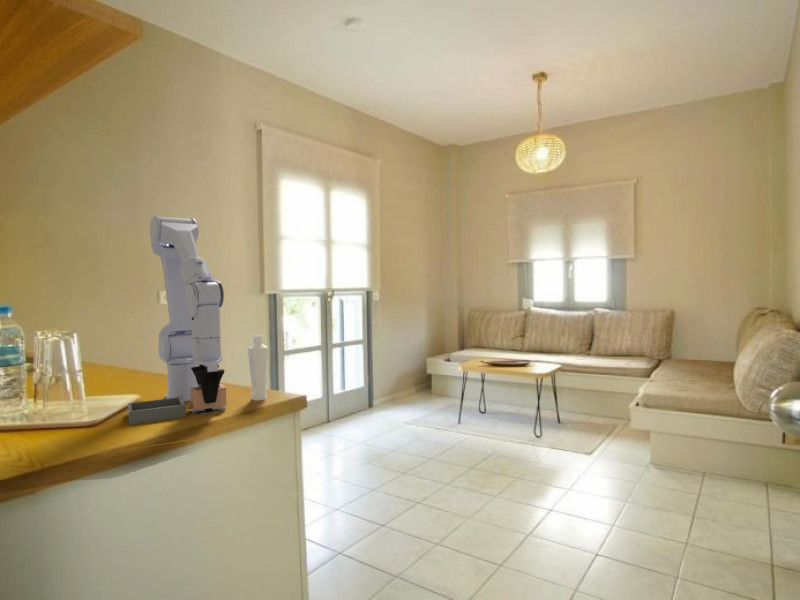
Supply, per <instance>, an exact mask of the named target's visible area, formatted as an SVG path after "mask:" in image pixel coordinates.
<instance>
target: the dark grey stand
mask: <svg viewBox="0 0 800 600" xmlns="http://www.w3.org/2000/svg"><path fill="white" fill-rule="evenodd" d="M199 388H201V384H200V383H199ZM225 410H227V406H222V407H215V408H207V409H200V410H193V409H191V411H190V412H191V413H192V414H195V415H208V414H209V415H210V414H215V413H220V412H224V411H225Z"/></svg>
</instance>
